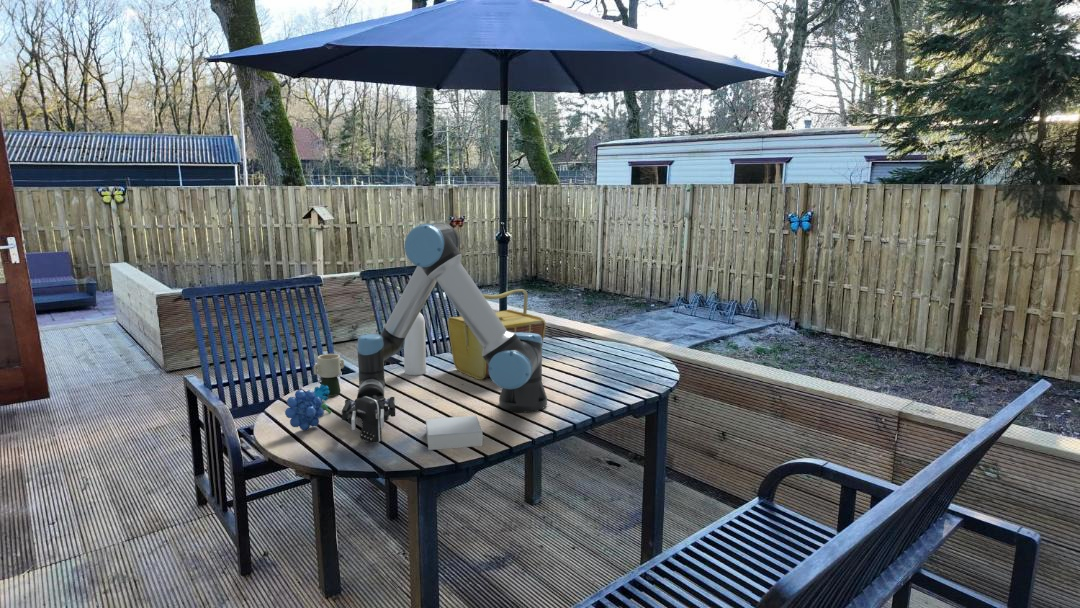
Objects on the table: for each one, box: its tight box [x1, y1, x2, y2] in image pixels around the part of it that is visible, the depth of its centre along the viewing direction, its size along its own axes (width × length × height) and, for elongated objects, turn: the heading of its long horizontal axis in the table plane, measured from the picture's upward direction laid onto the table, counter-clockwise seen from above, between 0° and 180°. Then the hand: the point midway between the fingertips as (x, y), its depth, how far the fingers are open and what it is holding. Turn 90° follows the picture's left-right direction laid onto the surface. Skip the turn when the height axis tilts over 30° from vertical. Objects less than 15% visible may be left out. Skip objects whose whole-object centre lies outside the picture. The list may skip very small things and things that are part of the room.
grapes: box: [284, 389, 325, 431], centre depth 172 cm, size 12×7×12 cm, turn 144°
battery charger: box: [356, 397, 383, 444], centre depth 164 cm, size 7×4×11 cm, turn 50°
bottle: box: [403, 312, 427, 376], centre depth 228 cm, size 8×8×30 cm
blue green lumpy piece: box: [313, 384, 332, 414], centre depth 189 cm, size 11×6×10 cm
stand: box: [425, 415, 483, 451], centre depth 168 cm, size 14×12×4 cm
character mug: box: [313, 353, 345, 397], centre depth 203 cm, size 11×7×13 cm, turn 140°
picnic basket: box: [447, 288, 547, 381], centre depth 233 cm, size 29×26×30 cm
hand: (367, 423), depth 159 cm, fingers closed on battery charger, 6 cm apart
